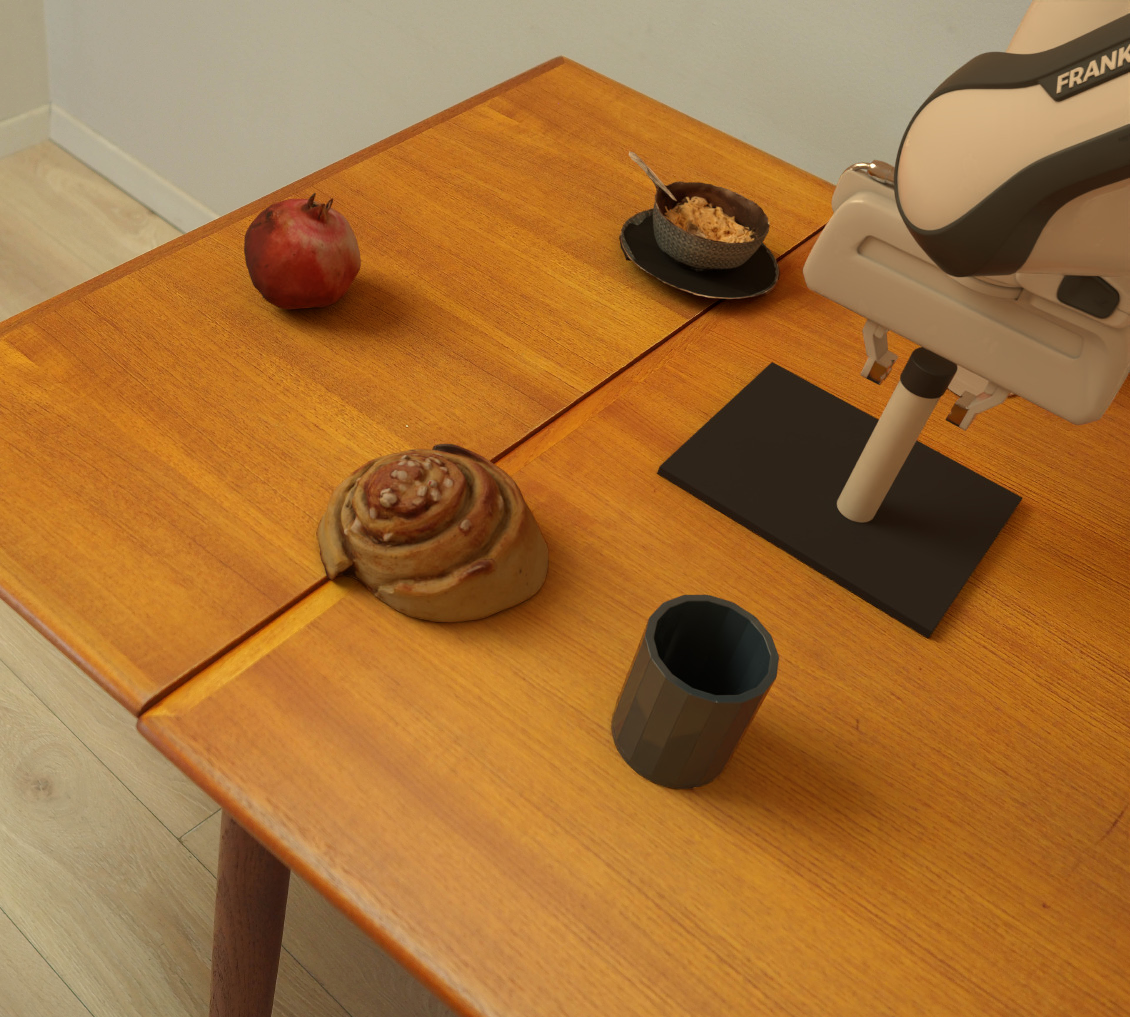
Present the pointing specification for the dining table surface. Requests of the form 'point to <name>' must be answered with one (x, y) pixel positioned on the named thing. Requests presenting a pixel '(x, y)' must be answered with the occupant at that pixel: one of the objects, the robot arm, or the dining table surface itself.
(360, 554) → the pastry
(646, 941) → the dining table surface
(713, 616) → the pen cup
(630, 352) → the dining table surface
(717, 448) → the mat
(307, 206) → the fruit
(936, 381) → the marker
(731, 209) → the soup bowl
